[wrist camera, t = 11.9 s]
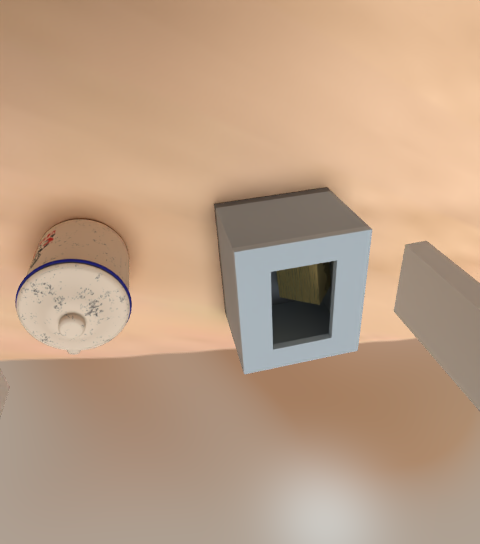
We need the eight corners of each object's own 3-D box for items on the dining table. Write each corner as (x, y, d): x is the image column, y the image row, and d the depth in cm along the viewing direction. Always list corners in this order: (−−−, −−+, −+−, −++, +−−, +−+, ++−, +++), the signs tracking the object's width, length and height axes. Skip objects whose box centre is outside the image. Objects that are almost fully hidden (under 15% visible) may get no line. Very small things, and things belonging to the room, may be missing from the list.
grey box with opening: (214, 204, 43) (234, 252, 34) (327, 187, 44) (372, 229, 36) (225, 313, 50) (244, 374, 42) (321, 295, 52) (357, 350, 44)
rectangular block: (273, 250, 43) (316, 256, 40) (287, 233, 45) (328, 238, 43) (279, 297, 46) (319, 305, 44) (292, 278, 48) (330, 285, 46)
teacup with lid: (35, 208, 39) (4, 275, 29) (136, 221, 42) (138, 287, 32) (34, 313, 45) (7, 398, 35) (123, 318, 47) (121, 398, 38)
